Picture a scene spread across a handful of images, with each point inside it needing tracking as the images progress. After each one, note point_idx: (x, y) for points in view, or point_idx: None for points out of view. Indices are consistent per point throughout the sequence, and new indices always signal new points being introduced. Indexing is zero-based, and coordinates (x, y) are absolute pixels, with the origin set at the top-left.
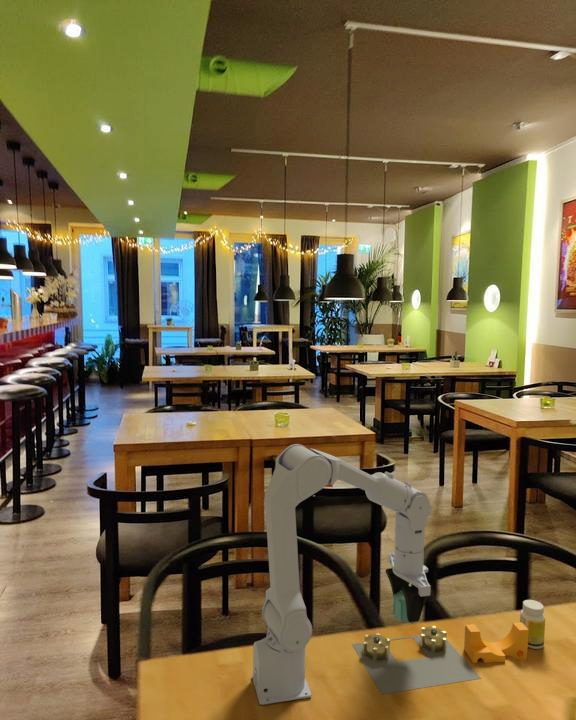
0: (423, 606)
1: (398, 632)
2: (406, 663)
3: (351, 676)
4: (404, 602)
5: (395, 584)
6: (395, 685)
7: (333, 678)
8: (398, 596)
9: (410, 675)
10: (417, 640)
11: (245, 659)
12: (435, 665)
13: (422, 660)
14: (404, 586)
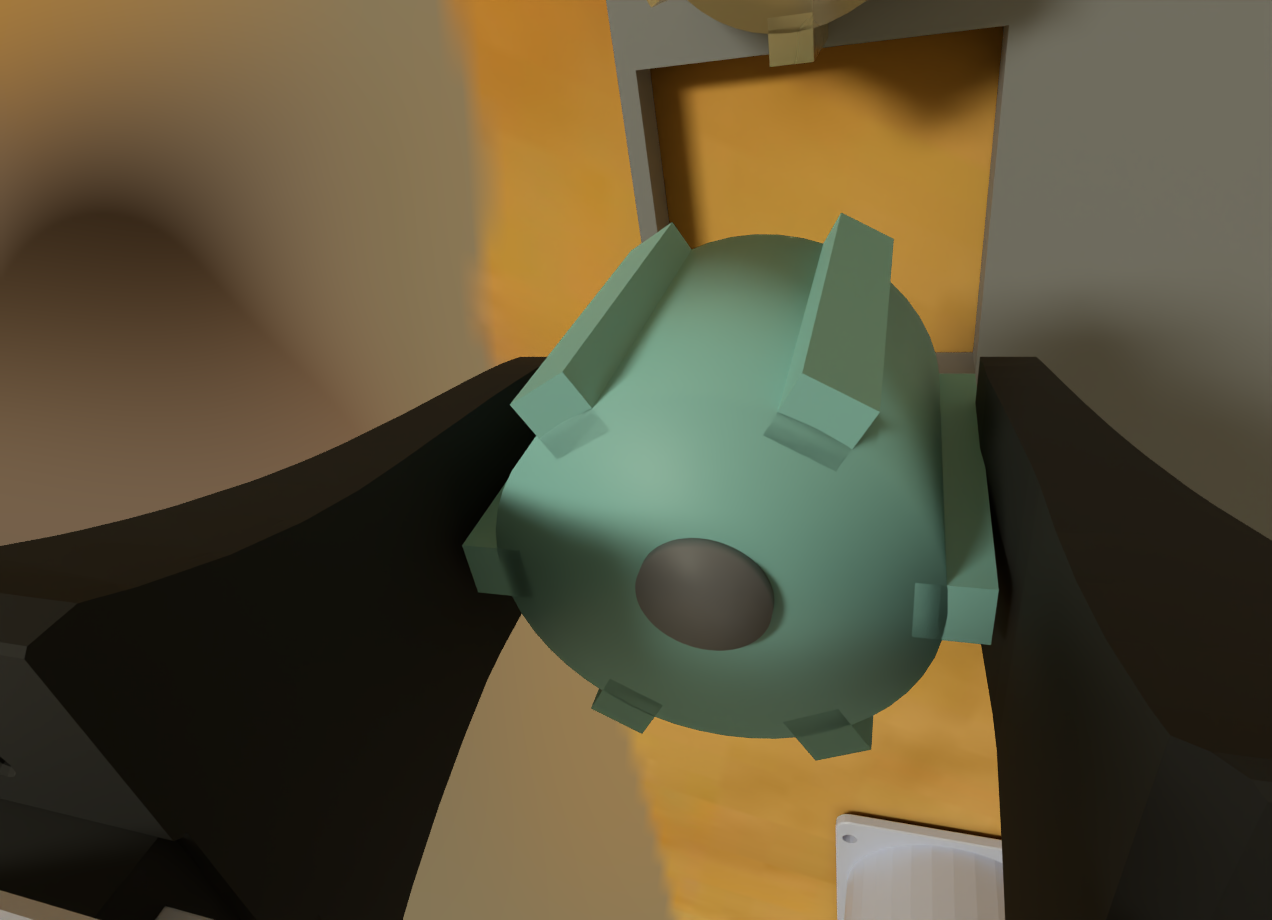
0: (1199, 502)
1: (505, 146)
2: (1027, 303)
3: (973, 648)
4: (880, 705)
5: (435, 735)
6: (1270, 504)
7: (957, 724)
8: (676, 697)
9: (1211, 340)
10: (696, 37)
11: (720, 911)
12: (1189, 2)
13: (1040, 124)
14: (410, 557)
